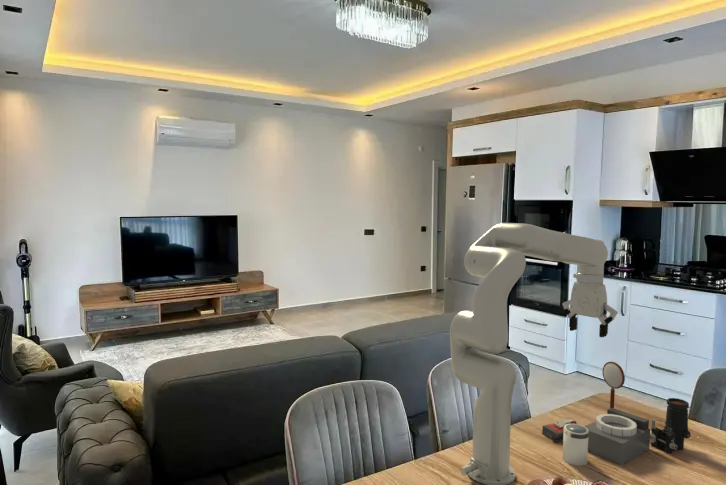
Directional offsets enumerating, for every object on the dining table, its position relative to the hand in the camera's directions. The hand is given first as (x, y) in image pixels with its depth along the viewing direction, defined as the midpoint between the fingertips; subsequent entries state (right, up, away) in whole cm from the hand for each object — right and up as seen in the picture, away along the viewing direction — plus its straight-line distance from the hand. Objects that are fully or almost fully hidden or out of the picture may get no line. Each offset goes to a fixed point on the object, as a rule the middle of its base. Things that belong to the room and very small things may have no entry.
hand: (587, 333), depth 156 cm
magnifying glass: (+12, -31, +8) cm, 34 cm away
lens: (-11, -33, -17) cm, 38 cm away
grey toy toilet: (+4, -32, -10) cm, 34 cm away
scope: (+21, -32, -9) cm, 40 cm away
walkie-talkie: (-5, -32, 0) cm, 32 cm away
